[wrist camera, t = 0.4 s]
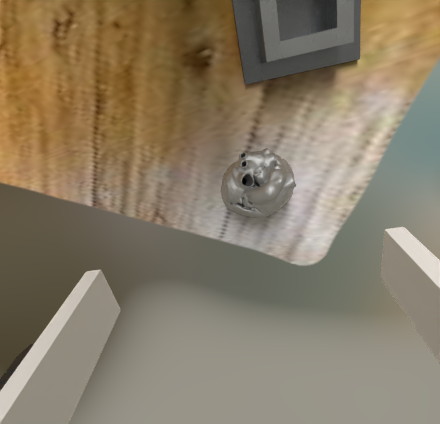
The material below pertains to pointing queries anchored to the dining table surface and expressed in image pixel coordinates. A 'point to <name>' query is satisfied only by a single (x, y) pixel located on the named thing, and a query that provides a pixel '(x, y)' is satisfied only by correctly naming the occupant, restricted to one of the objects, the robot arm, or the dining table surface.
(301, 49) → the port panel
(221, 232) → the dining table surface
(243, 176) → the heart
